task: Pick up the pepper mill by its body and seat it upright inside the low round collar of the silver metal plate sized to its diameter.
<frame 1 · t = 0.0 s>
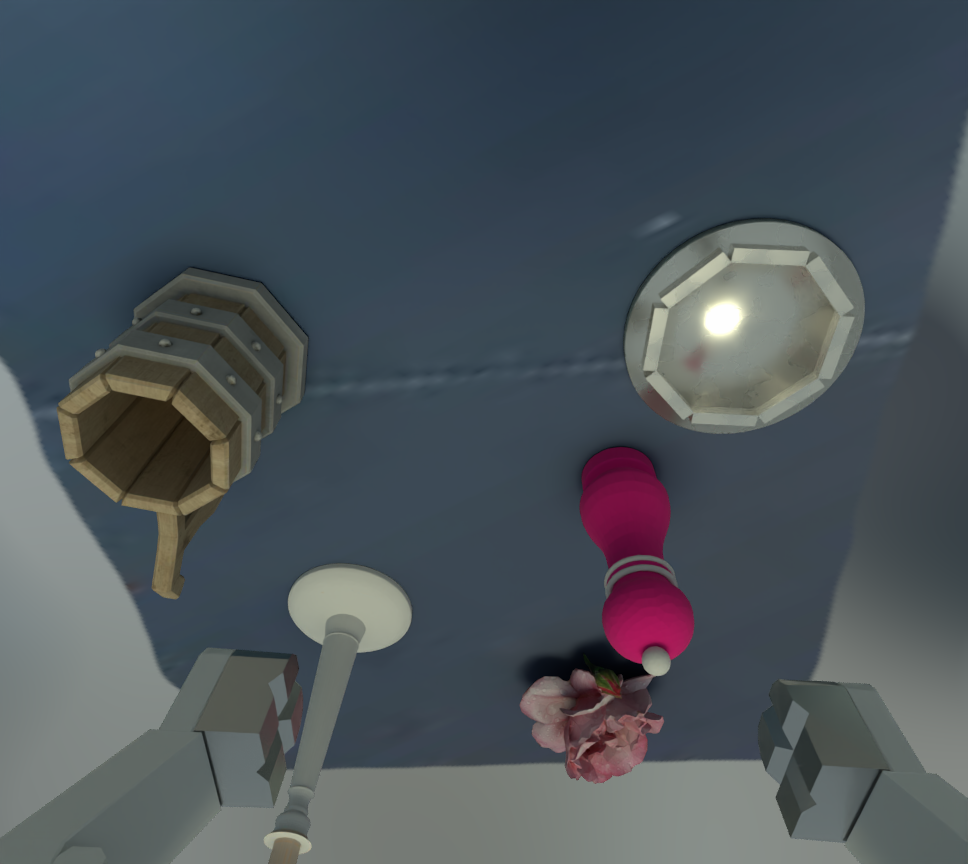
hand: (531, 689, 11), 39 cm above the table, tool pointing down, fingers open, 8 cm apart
pepper mill: (617, 473, 57), on the table
flower: (589, 678, 74), on the table
candlestick: (351, 605, 68), on the table
tankard: (228, 386, 54), on the table
silver metal plate: (737, 332, 49), on the table
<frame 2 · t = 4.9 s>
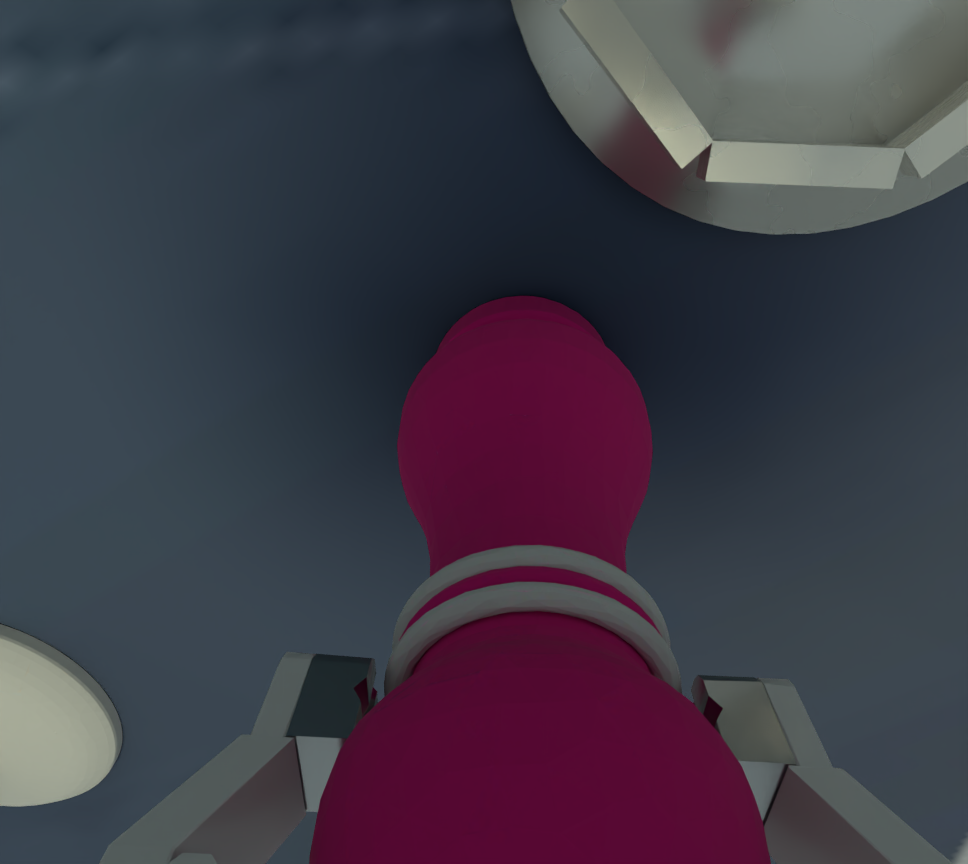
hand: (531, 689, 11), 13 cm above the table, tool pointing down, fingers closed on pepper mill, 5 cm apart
pepper mill: (521, 379, 23), on the table, touching gripper
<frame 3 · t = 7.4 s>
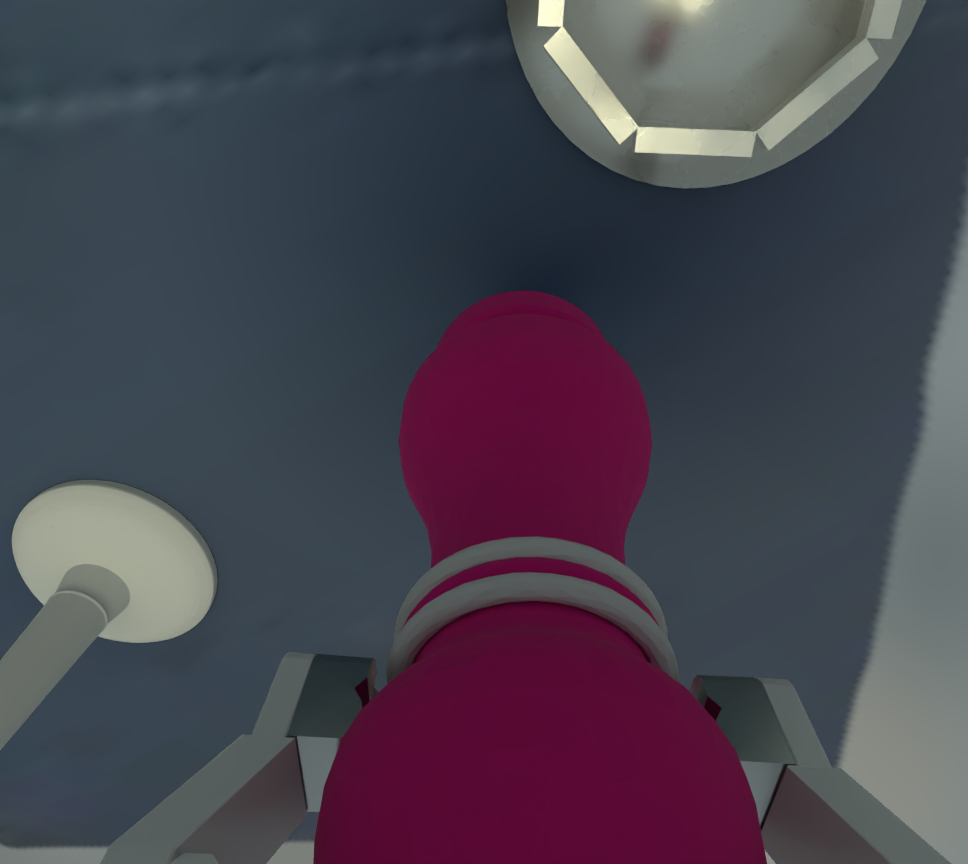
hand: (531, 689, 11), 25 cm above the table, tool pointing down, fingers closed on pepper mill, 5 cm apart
pepper mill: (521, 373, 23), point 11 cm above the table, touching gripper
candlestick: (120, 561, 43), on the table
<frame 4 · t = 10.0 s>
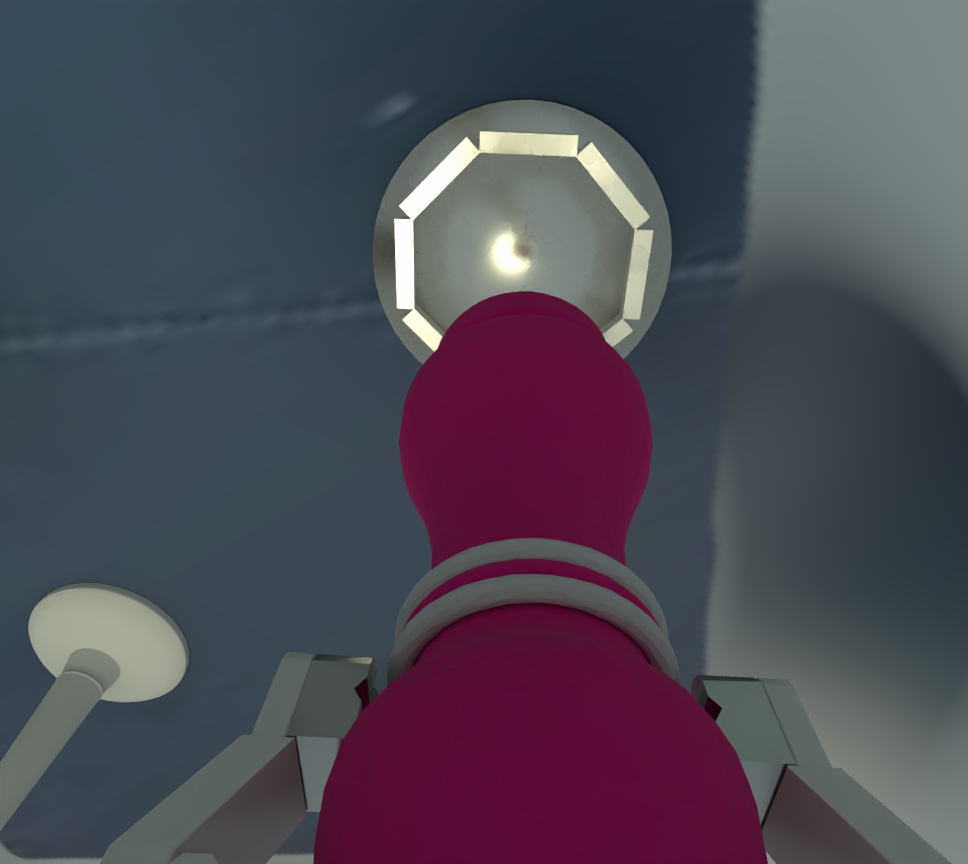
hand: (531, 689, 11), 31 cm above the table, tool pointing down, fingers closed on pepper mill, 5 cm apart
pepper mill: (522, 374, 23), point 17 cm above the table, touching gripper
candlestick: (113, 640, 55), on the table
silver metal plate: (520, 262, 38), on the table
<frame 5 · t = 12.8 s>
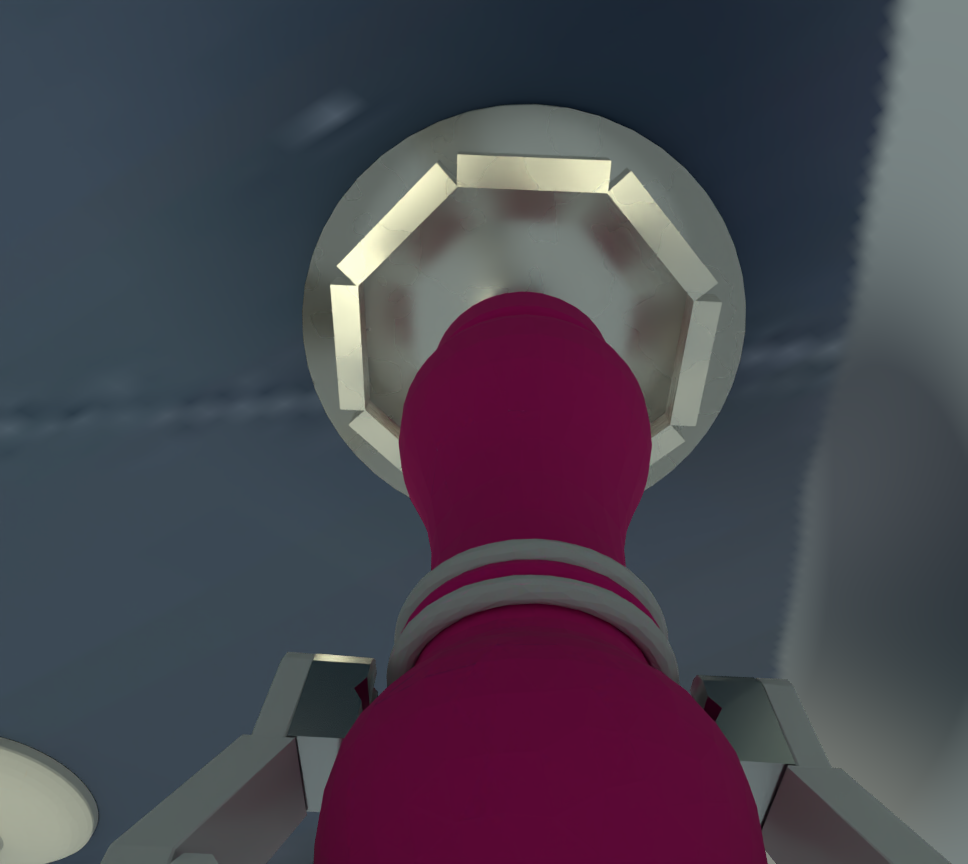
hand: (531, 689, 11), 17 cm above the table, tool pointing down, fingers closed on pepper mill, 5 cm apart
pepper mill: (521, 374, 23), point 4 cm above the table, touching gripper
candlestick: (0, 792, 43), on the table
silver metal plate: (520, 339, 26), on the table
when the fingers open (14 cm above the table, at t = 15.2 s): pepper mill stays where it is, resting on silver metal plate.
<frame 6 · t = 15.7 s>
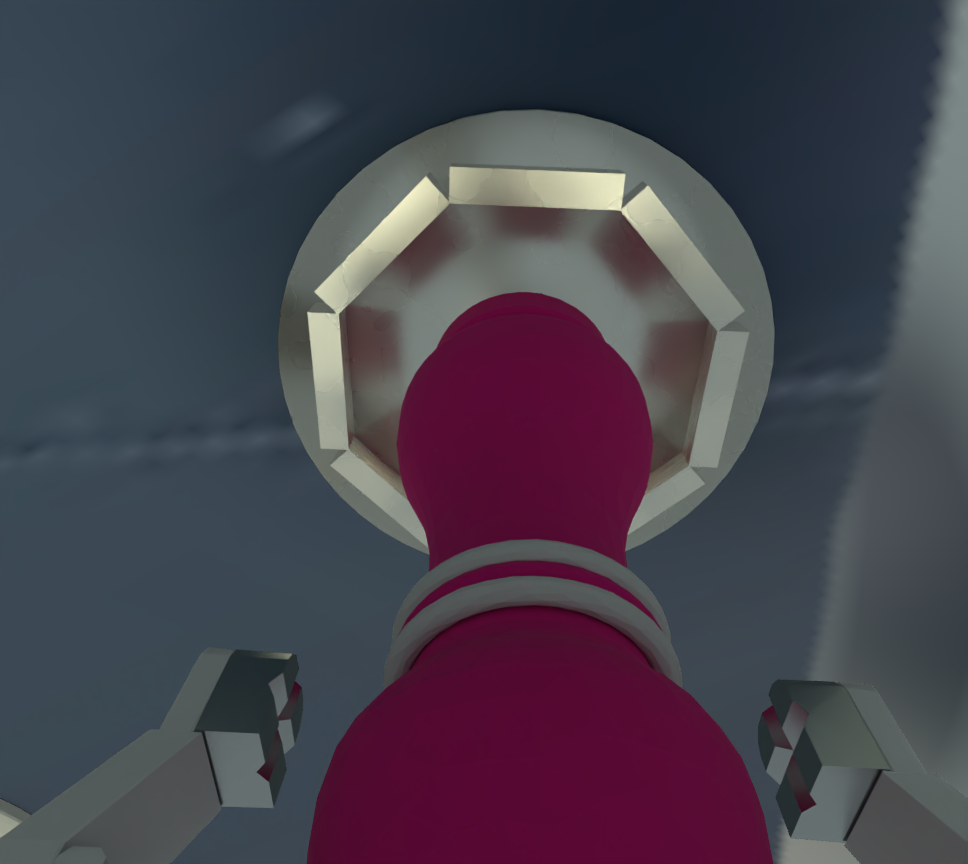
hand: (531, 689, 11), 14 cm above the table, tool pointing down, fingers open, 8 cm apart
pepper mill: (521, 376, 23), point 1 cm above the table, touching silver metal plate
silver metal plate: (521, 370, 24), on the table
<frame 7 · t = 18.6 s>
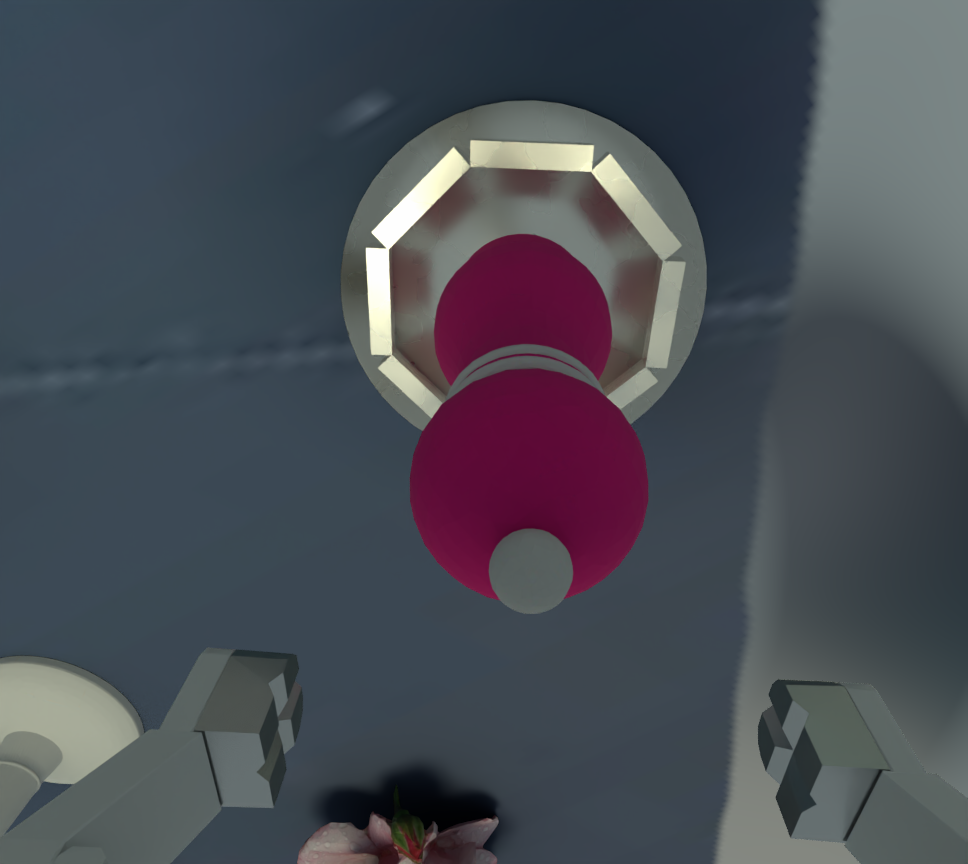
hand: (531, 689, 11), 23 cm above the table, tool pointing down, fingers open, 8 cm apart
pepper mill: (520, 299, 31), point 1 cm above the table, touching silver metal plate
flower: (413, 818, 52), on the table
candlestick: (57, 716, 48), on the table
silver metal plate: (521, 297, 32), on the table
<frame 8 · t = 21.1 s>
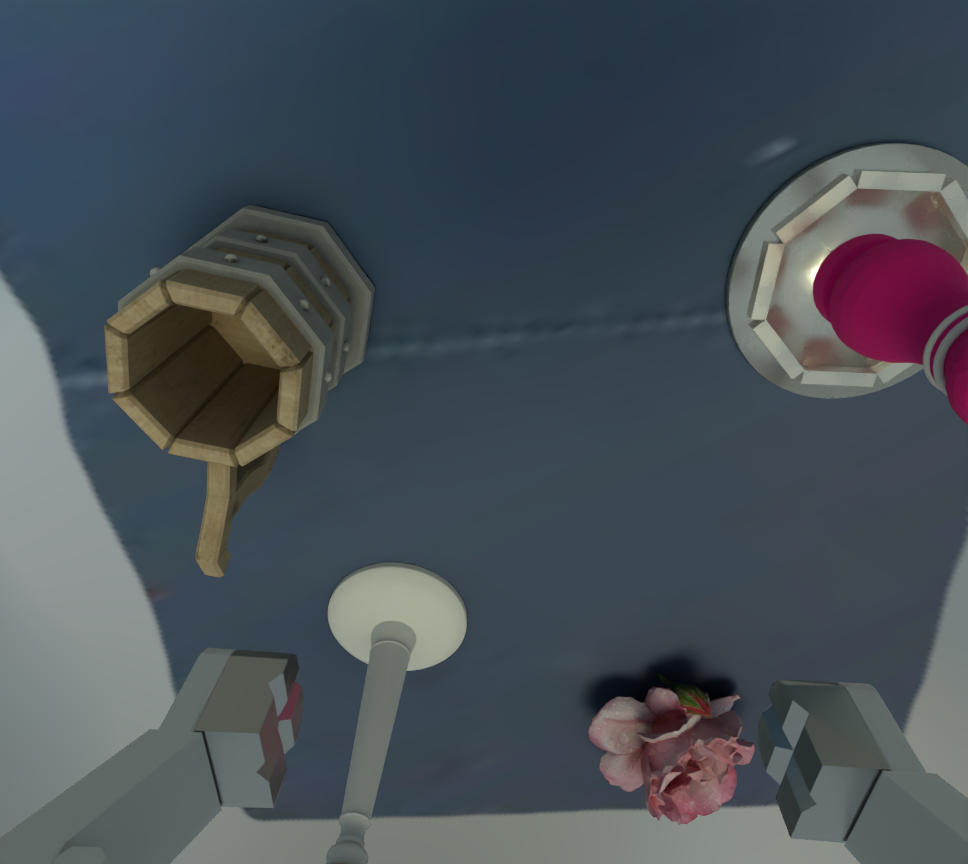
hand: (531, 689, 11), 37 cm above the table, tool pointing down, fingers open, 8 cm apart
pepper mill: (859, 280, 44), point 1 cm above the table, touching silver metal plate
flower: (661, 703, 65), on the table
candlestick: (398, 614, 61), on the table
tankard: (281, 348, 49), on the table
silver metal plate: (853, 278, 44), on the table
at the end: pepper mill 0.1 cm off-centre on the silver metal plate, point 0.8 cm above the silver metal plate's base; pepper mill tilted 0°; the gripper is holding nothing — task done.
